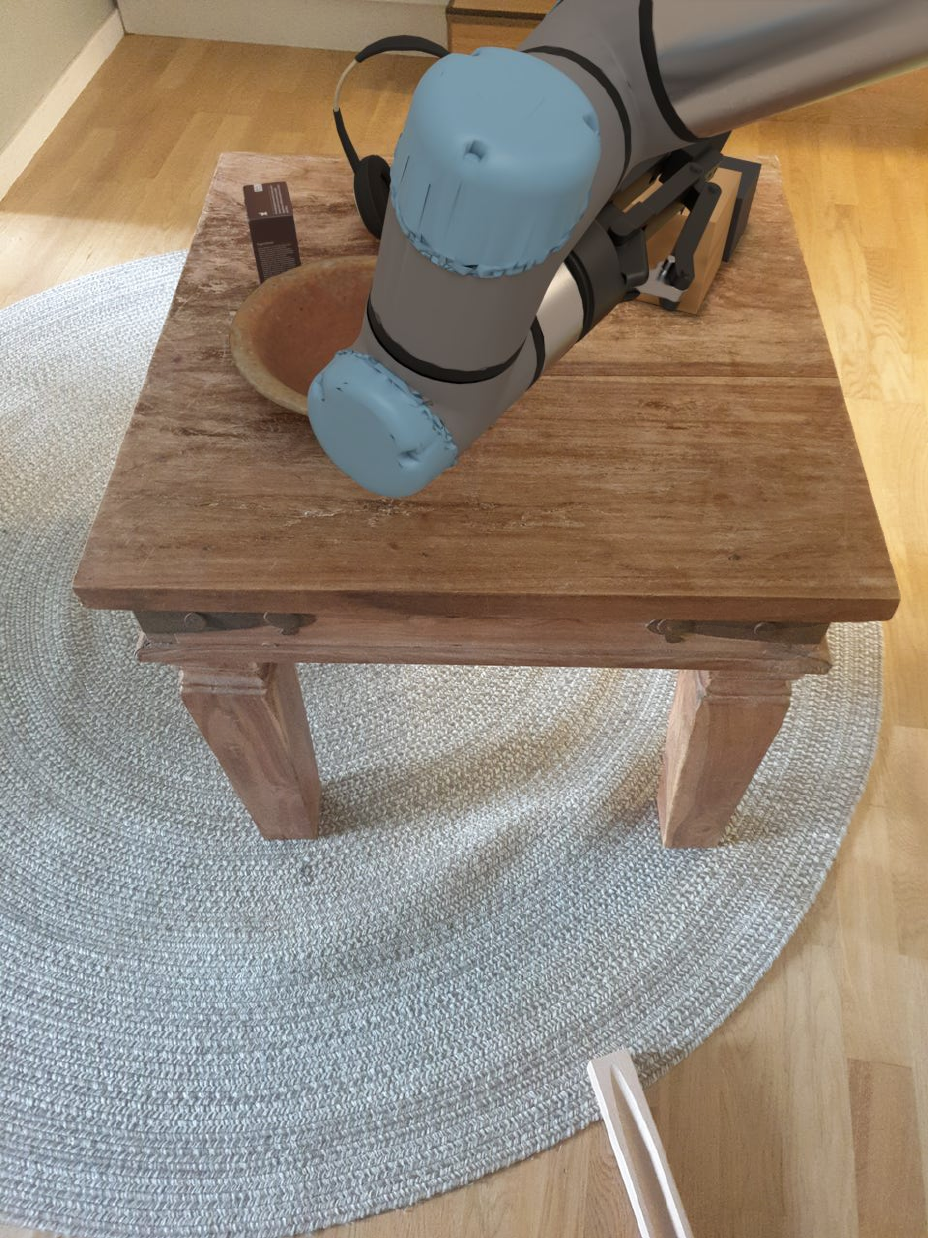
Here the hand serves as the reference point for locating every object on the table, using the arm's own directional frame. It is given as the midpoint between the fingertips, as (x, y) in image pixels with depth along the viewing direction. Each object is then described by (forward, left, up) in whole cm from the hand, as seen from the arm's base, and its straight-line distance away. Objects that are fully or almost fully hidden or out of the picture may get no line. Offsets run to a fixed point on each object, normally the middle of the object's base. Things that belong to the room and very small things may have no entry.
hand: (720, 129), depth 63 cm
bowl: (+27, 0, -26) cm, 37 cm away
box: (+38, -11, -26) cm, 47 cm away
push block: (0, -20, -26) cm, 32 cm away
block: (-4, -28, -26) cm, 38 cm away
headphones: (+27, -25, -26) cm, 45 cm away
